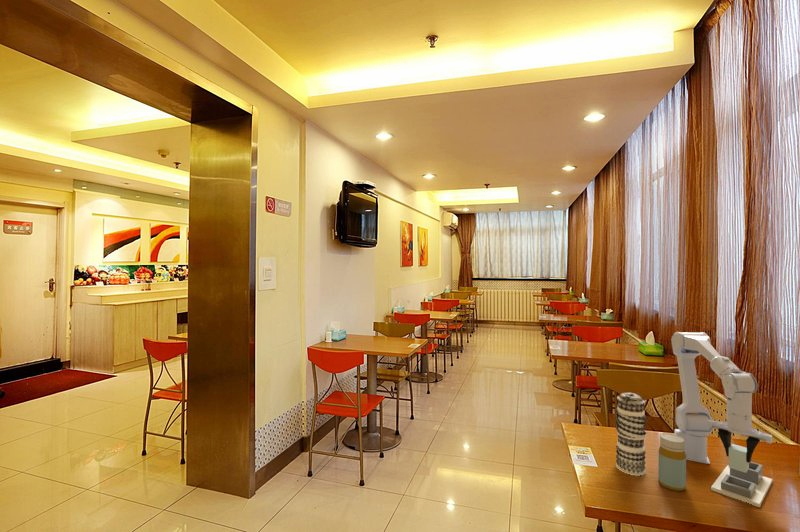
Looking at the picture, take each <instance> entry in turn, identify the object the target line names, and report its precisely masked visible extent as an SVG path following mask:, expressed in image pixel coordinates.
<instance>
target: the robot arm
mask: <svg viewBox="0 0 800 532" xmlns="http://www.w3.org/2000/svg"><path fill="white" fill-rule="evenodd" d="M670 342H671V348H672V353H673V355H675V356H676V359H677V360H676V361H677V365H678V366H677V368H678V373H679V381H680V387H681V393H682V401H683V402H682V403H681V404H680V405H679V406H677V407H676V408H675V420H674V421H675V423H676V424H675V425H676V426H677V427H678V428H675V429H674V431H673V432H674V433H673V434H674V435H678V436H680V437H682V438H683V439H684V441H685V444H684V452H685V454H686V461H690V462H695V463H696V462H697V463H701V464H707V465H711V462H710V459H709V457H708V436H710V433H712V432H713V430H714V429H717V430H718V432H717V436H718V437H719V439H720V441H721V442H722V445H723V448H724V450H725V454H726V457H728V458H729V447H730V445H731V444H732V443H731V442H732V434H735V435H739V436H744V437H747V438H746V440H745V442H746V448H747V457H746V461H747V462H748V463H750V462H752V457H753V454H754V451H755V450H756V447H757V446H758V444H759V443H760V441H762V442H766V443H767V444H772V442H773V435H772V434H769V433H766V432H765V433H764V432H762V431H759V430H756V429H755V428H754V429H753V428H752V425H753V424H752V419H753V417H752V415H753V411H752V407H753V406H752V405H753V394H754V393H756V392H757V390H758V385H759V384H758V381H757V379H756V378H755V376H754V375H753V374H752V373H750V372H745V371H742V370H741V369H740V368H739V367H738V366H737V365H736V364H735V363H734V362H733V361H732V360H731V359H730V358H729V357H728V356H723V355H721V354H720V353H719V352H718V351H717V350H716V349H715V347H713V345H712V344H711V337H710V336H709V335H708V334H707V333H706V332H703V331H701V332H689V331H688V332H683V331H675V332H674V333H673V334H672V336H671V341H670ZM698 356H703V358H705V359H706V360H707V361H708V362H709V363H710V364H709V366H710V367H709V368H710V369H711V370H712V371H713V372H714V373H715V374H716V375H717V377H718V378H720V380H721V385H722V387H723V390H724V391H723V392H724V396H725V397H726V422H725V421H719V420H713V418H712V415H711V412H710V409H708V408H707V407H706V406H704V405H703V404H702V402H701V394H700V390H699V389H700V387H699V381H698V375H697V369H696V364H695V363H696V361H695V359H696V358H697V357H698Z"/></svg>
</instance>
